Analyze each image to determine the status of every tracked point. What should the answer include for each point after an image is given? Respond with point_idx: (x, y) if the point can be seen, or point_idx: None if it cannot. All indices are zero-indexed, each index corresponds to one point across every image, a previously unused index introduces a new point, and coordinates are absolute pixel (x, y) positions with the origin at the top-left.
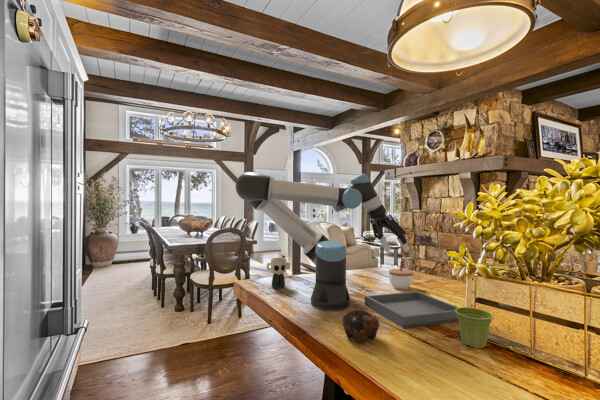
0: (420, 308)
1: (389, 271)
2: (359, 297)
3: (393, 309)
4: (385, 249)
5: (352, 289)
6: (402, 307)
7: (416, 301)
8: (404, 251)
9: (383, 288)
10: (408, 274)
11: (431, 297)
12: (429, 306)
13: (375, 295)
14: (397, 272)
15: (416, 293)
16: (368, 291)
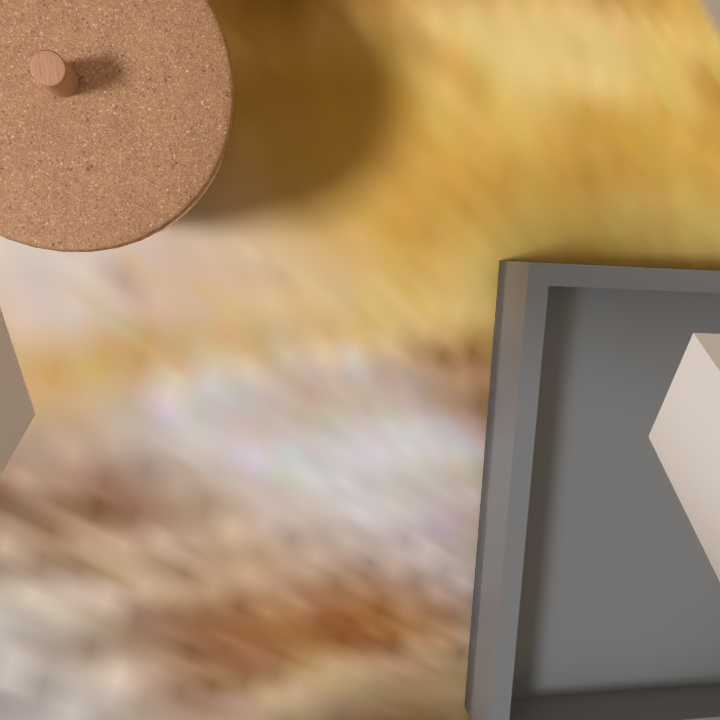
0: None
1: (18, 241)
2: (286, 664)
3: (657, 608)
4: (1, 463)
5: (33, 620)
6: (650, 530)
7: (586, 345)
8: (663, 450)
9: (80, 316)
10: (233, 93)
11: (709, 284)
12: None
13: (505, 673)
14: (145, 202)
15: (542, 290)
16: (141, 512)
